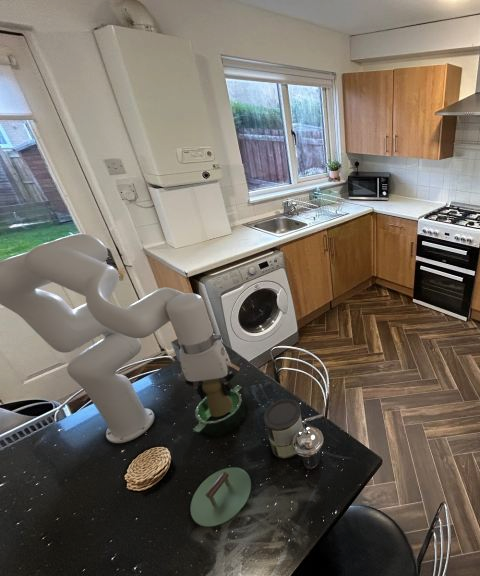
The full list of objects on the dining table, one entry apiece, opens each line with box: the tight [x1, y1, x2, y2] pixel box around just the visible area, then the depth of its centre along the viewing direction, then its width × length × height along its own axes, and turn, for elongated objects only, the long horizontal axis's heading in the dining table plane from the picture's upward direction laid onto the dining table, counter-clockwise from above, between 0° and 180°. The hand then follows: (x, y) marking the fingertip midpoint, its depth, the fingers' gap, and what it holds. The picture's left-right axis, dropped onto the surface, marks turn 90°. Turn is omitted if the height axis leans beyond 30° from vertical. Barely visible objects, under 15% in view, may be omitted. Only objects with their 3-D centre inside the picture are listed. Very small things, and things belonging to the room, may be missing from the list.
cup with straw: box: [292, 413, 325, 469], centre depth 87 cm, size 8×9×20 cm
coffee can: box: [263, 398, 304, 459], centre depth 93 cm, size 10×10×14 cm
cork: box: [202, 378, 233, 418], centre depth 85 cm, size 6×6×11 cm
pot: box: [192, 384, 246, 436], centre depth 103 cm, size 14×19×6 cm
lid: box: [189, 467, 252, 528], centre depth 81 cm, size 15×15×6 cm
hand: (216, 393), depth 85 cm, fingers closed on cork, 5 cm apart
